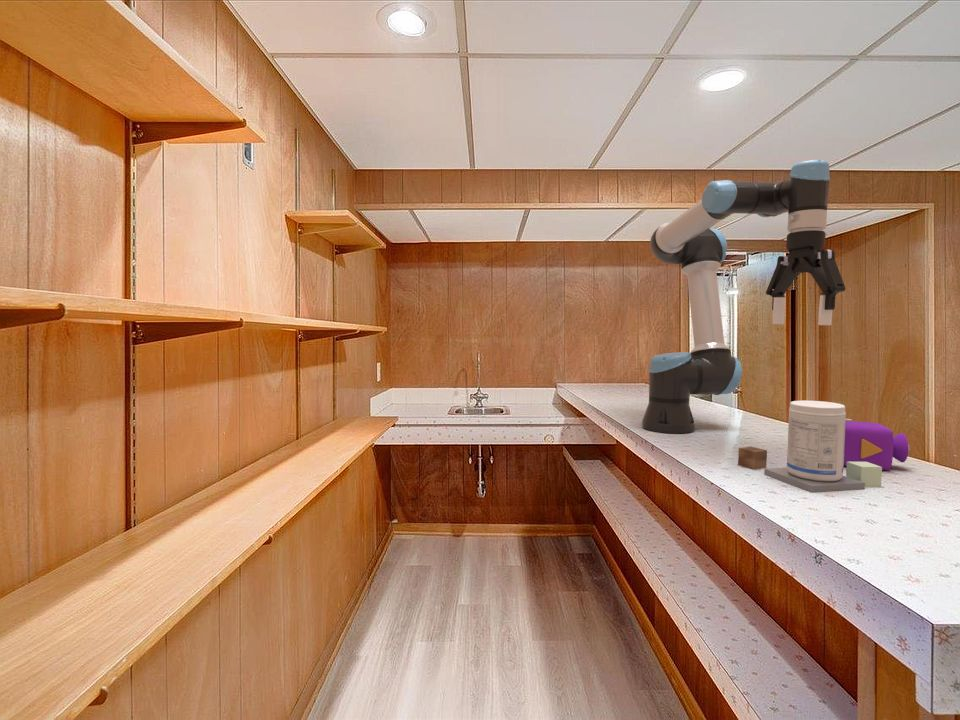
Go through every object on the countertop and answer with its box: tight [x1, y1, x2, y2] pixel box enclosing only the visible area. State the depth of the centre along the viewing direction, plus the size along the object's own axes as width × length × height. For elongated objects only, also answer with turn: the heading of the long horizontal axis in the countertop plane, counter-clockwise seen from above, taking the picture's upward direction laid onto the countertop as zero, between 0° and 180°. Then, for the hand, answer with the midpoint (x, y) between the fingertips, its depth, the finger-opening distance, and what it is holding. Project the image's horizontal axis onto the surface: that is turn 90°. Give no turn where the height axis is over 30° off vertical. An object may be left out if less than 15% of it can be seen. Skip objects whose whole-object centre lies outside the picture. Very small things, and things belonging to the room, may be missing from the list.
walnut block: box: [737, 445, 768, 471], centre depth 113 cm, size 4×4×4 cm
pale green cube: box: [845, 462, 883, 488], centre depth 101 cm, size 4×4×4 cm
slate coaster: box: [763, 466, 866, 493], centre depth 102 cm, size 12×12×1 cm
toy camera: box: [843, 418, 910, 471], centre depth 114 cm, size 11×14×10 cm
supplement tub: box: [786, 399, 847, 482], centre depth 101 cm, size 10×10×15 cm
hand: (800, 324), depth 118 cm, fingers open, 13 cm apart
